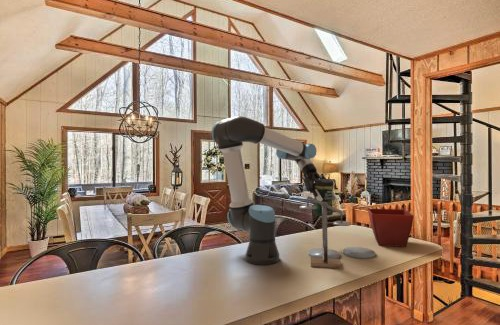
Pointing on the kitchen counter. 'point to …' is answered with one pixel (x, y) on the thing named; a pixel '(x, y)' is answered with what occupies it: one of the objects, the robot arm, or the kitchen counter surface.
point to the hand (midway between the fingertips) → (328, 200)
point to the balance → (325, 235)
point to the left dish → (319, 253)
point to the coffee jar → (324, 195)
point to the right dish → (358, 252)
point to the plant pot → (391, 226)
